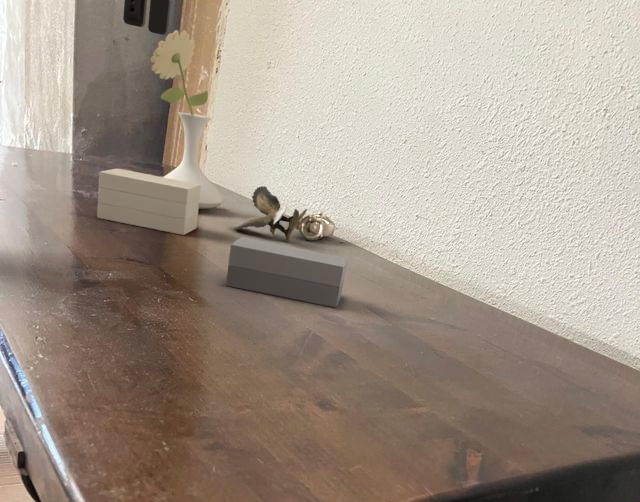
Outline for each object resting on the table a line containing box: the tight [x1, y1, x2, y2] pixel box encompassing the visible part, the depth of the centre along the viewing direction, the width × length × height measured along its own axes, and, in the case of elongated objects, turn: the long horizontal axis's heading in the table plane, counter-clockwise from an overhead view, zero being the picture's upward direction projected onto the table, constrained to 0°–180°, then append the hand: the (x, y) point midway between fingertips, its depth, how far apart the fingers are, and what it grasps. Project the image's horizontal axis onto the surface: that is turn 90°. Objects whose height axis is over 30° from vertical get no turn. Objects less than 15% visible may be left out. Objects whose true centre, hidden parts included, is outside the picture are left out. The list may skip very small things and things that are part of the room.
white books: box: [96, 186, 199, 236], centre depth 101 cm, size 12×6×4 cm, turn 83°
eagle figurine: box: [233, 185, 308, 243], centre depth 108 cm, size 8×7×9 cm
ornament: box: [294, 211, 336, 241], centre depth 113 cm, size 8×7×4 cm
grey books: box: [225, 236, 349, 309], centre depth 80 cm, size 12×5×4 cm, turn 83°
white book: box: [98, 168, 201, 204], centre depth 100 cm, size 12×6×2 cm, turn 83°
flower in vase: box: [150, 29, 223, 210], centre depth 115 cm, size 13×11×25 cm
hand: (146, 29), depth 85 cm, fingers open, 8 cm apart
